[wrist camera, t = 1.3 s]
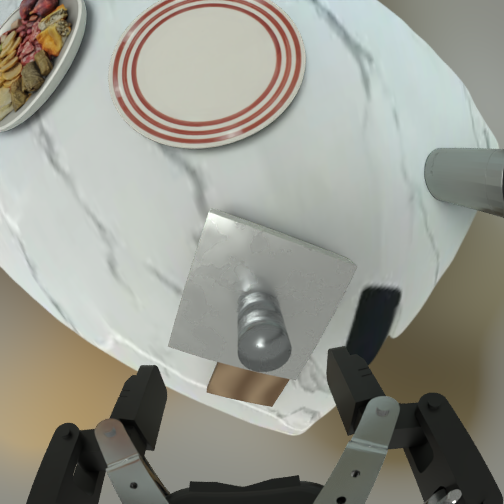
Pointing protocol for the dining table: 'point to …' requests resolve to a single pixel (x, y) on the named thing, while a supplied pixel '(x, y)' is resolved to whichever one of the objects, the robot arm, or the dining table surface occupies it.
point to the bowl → (36, 54)
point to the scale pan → (257, 290)
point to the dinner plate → (206, 70)
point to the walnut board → (245, 385)
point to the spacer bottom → (257, 304)
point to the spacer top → (263, 341)
